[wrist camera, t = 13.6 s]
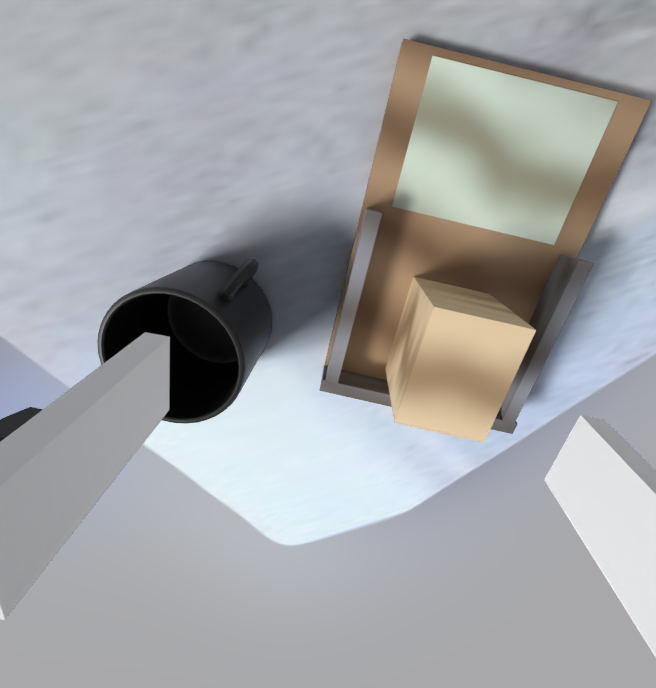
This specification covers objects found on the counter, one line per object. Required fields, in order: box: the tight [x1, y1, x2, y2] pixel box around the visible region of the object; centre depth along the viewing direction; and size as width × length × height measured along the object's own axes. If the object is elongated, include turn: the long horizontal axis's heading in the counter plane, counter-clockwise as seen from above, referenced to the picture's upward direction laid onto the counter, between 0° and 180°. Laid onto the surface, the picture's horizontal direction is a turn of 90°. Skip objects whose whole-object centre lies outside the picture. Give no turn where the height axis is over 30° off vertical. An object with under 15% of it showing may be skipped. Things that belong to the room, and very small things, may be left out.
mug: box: [98, 259, 272, 423], centre depth 27 cm, size 9×12×9 cm
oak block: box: [385, 277, 536, 442], centre depth 27 cm, size 8×6×8 cm
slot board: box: [320, 39, 652, 434], centre depth 27 cm, size 24×16×4 cm, turn 168°
